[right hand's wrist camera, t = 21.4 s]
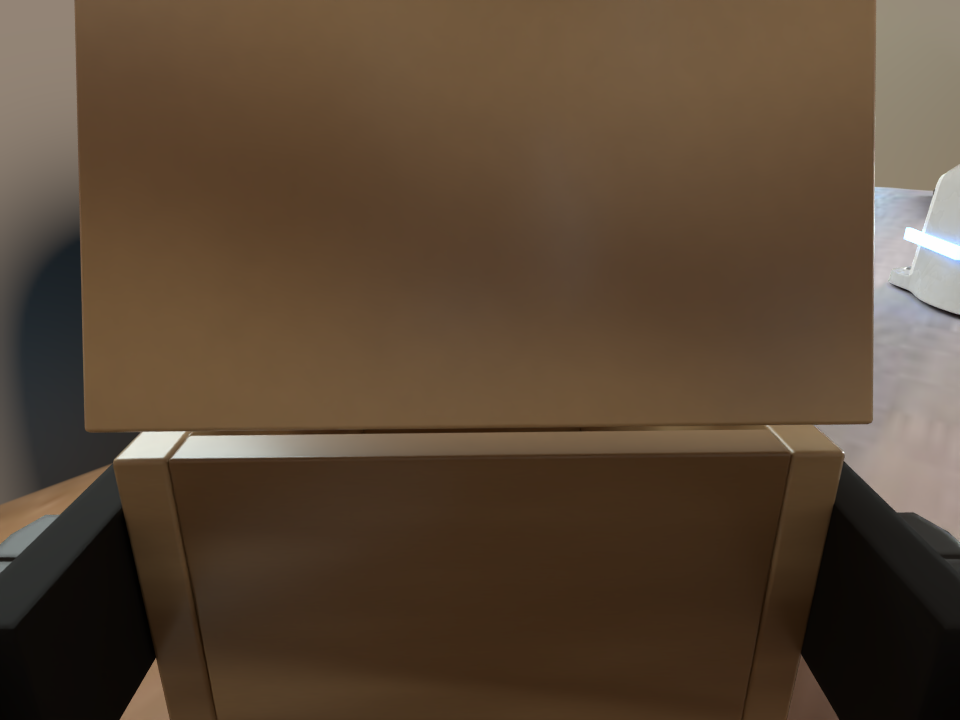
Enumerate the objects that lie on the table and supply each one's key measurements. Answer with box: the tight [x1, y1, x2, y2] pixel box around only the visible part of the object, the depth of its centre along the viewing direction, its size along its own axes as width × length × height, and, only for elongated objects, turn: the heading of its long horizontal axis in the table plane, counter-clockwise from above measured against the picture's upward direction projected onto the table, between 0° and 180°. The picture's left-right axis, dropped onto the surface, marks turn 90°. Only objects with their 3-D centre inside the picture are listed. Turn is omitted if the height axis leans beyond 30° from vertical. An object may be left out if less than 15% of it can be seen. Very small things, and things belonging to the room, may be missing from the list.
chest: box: [113, 425, 845, 720], centre depth 18 cm, size 16×10×9 cm, turn 1°
